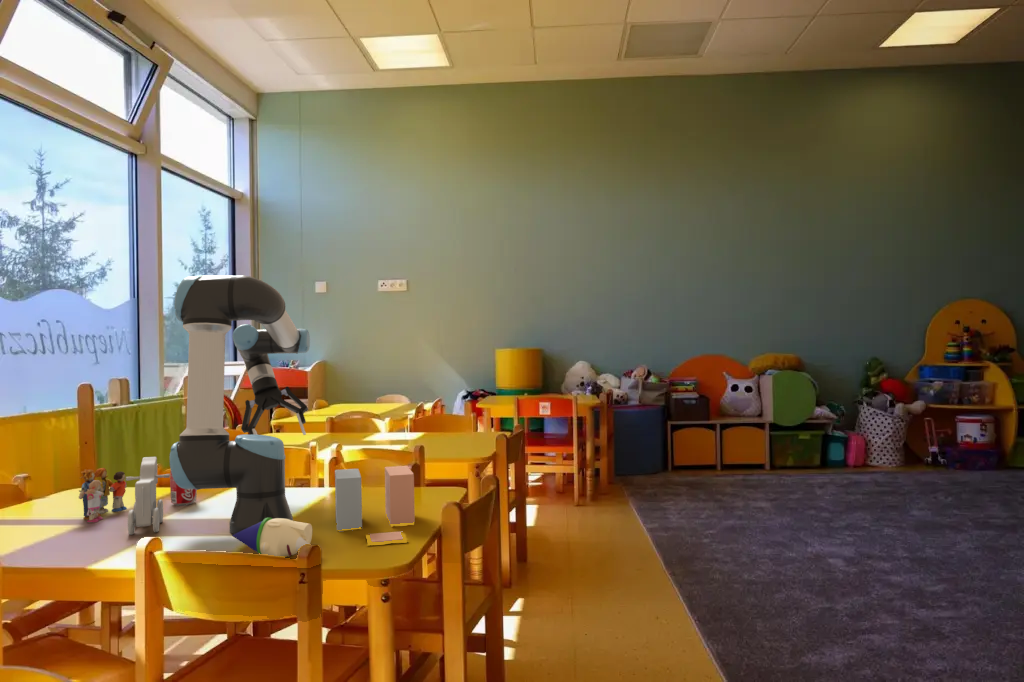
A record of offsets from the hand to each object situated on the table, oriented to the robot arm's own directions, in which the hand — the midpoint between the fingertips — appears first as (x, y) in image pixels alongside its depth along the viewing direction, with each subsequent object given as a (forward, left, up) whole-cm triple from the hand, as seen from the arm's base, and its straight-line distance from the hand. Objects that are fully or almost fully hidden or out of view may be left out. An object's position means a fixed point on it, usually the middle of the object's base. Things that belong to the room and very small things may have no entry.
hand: (282, 441), depth 225 cm
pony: (-40, +14, -17) cm, 46 cm away
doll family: (-32, +38, -17) cm, 53 cm away
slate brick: (-27, -36, -17) cm, 48 cm away
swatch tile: (-40, -53, -17) cm, 68 cm away
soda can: (-14, +24, -17) cm, 33 cm away
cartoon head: (-58, -35, -17) cm, 69 cm away
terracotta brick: (-21, -48, -17) cm, 55 cm away
